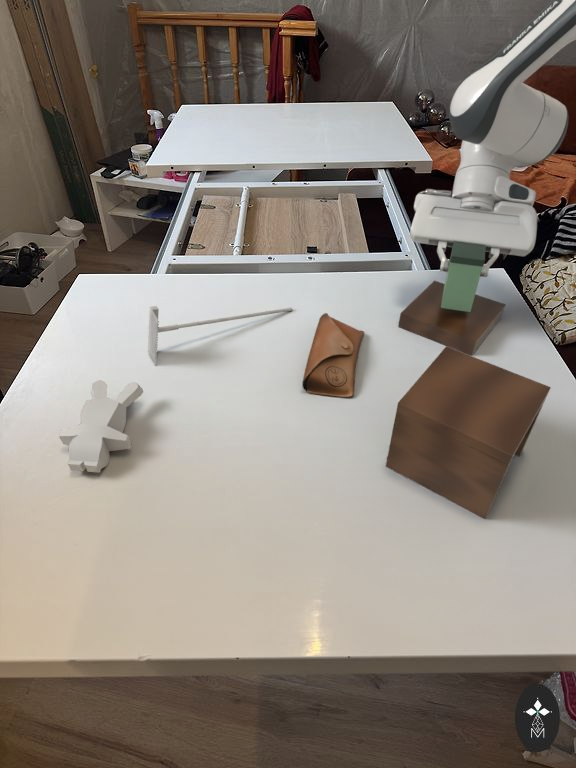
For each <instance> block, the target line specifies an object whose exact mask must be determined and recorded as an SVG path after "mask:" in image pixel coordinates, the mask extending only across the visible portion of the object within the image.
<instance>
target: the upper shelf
mask: <svg viewBox="0 0 576 768" xmlns="http://www.w3.org/2000/svg"><path fill="white" fill-rule="evenodd" d="M551 389H552V388H551V386H549V385H547V384H543V383H541V382H539V381H536V380H534V379H531V378H528V377H525V376H523V375H521V374H518V373H516V372H513V371H511V370H508V369H505V368H503V367H500V366H499V365H495V364H492V363H490V362H488V361H485V360H483V359H481V358H477V357H475V356H473V355H472V356H471V355H469V354H466V353H464V352H461V351H459V350H456V349H453V348H451V347H448V346H446V345H445V347H444V348H443V349H442V351H440V353H439V354H438V355H437V357H436V358H434V360H433V361H432V362H431V364H430V365H429V366H428V367H427V368H426V369H425V371H424V372H423V373H422V374H421V375H420V376H419V377H418V379H417V380H416V381H415V382H414V383H413V385H412V386H411V387H410V388H409V389H408V390H407V392H406V393H405V394H404V395H403V397H401V398H400V400H399V401H398V402H397V406H396V411H395V416H394V420H393V426H392V431H391V437H390V441H389V447H388V452H387V458H386V463H385V468H388V469H390V470H391V471H394V472H395V473H397V474H399V475H401V476H403V477H405V478H406V479H409V480H410V481H412V482H414V483H416V484H418V485H419V486H422V487H423V488H425V489H428V490H429V491H431V492H433V493H434V494H437V495H438V496H441V497H442V498H444V499H446V500H448V501H450V502H452V503H454V504H456V505H457V506H459V507H461V508H463V509H465V510H466V511H469V512H471V513H473V514H474V515H477V516H479V517H480V518H482V519H484V520H485V519H486V518H487V517H488V515H489V513H490V511H491V509H492V507H493V504H494V502H495V499H496V497H497V495H498V492H499V490H500V488H501V485H502V483H503V481H504V478H505V476H506V474H507V472H508V469H509V467H510V465H511V462H512V460H513V459H514V456H516V457H521V455H522V453H523V451H524V449H525V446H526V444H527V442H528V440H529V437H530V435H531V433H532V431H533V428H534V426H535V425H536V422H537V420H538V418H539V415H540V414H541V411H542V408H543V406H544V404H545V402H546V400H547V397H548V395H549V393H550V390H551Z"/></svg>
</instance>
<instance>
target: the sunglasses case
mask: <svg viewBox="0 0 576 768" xmlns="http://www.w3.org/2000/svg"><path fill="white" fill-rule="evenodd" d="M364 335H365V330H359V329H357V328H355V327H353V326H351V325H349V324H346V323H344V322H342V321H340V320H338V319H336V318H334V317H331V316H330V315H329V314H328V313H327V312H325V313H323V314H322V315H320V317H319V320H318V323H317V326H316V329H315V332H314V336H313V339H312V344H311V347H310V350H309V354H308V357H307V362H306V365H305V368H304V373H303V379H302V382H301V383H302V388H303V390H304V391H305V392H306V393H308V394H310V395H311V394H312V395H317V396H321V397H330V398H345V399H346V398H352V397H354V394H355V384H356V383H355V382H356V381H355V380H356V379H355V378H356V370H357V363H358V358H359V352H360V348H361V343H362V341H363V338H364Z"/></svg>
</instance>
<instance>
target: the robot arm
mask: <svg viewBox="0 0 576 768" xmlns="http://www.w3.org/2000/svg"><path fill="white" fill-rule="evenodd" d="M574 41H576V0H551V1H550V2H549V3H548V4H547V5H546V6H545V7H543V9H542V10H540V12H539V13H537V14H536V15H535V16H534V17H533V18H532V19H531V20H530V21H529V22H528V23H527V24H525V26H524V27H522V28H521V30H520V31H519V32H517V33H516V34H515V35H514V36H513V37H512V38H511V39H510V40H509V41H508V42H507V43H506V44H505V45H504V46H503V47H501V48H500V50H499V51H497V53H495V54H494V55H493V56H491V58H489V59H488V60H487V61H486V62H484V63H483V64H481V65H480V66H478V67H477V68H475V69H474V70H473V71H472V72H470V73H469V74H468V75H466V76H465V78H464V79H462V80H461V82H460V83H459V85H458V86H457V87H456V88H455V90H454V91H453V94H452V97H451V98H450V102H449V104H448V116H449V117H448V119H449V123H450V126H451V130H452V132H453V134H454V136H455V138H456V139H458V140H460V141H461V146H460V151H459V154H460V162H459V165H458V168H456V169H457V170H456V172H455V177H454V181H453V186H452V190H445V189H433V188H426V189H425V190H422V191H420V192H417V194H416V195H415V198H414V201H413V210H414V216H413V219H412V222H411V227H410V230H409V231H410V232H409V237H410V239H411V241H412V242H413V243H416V244H425V245H432V246H437V248H436V253H437V256H438V258H439V261H440V266H439V267H440V268H439V272H445V273H447V272H448V270H449V265H450V258H447V256H446V254H445V252H446V250H447V248H452V246H453V242H454V241H455V242H463V243H471V244H479V245H486V249H485V253H486V252H487V253H488V261H487V262H485V263H484V266H483V267H482V271H481V274H480V277H483V278H488V276H489V272H490V267H492V266H493V264H494V263H495V262H496V261H497V259H498V258H499V256H500V255H501V254H502V255H510V256H517V257H526V256H527V255H529V254H530V253H531V252H532V251H533V250H534V248H535V245H536V240H537V231H538V214H537V210H536V209H535V208H534V207H533V206H534V204H535V200H536V196H537V192H536V191H535V190H534V189H533V188H531V187H528V186H526V185H523V184H521V183H518V182H516V181H514V180H512V179H511V172H512V171H513V169H515V168H517V169H521V168H526V167H529V166H532V165H533V166H534V165H536V164H538V163H541V162H543V161H545V160H547V159H549V158H550V157H551V156H552V155H554V154H555V153H556V152H557V151H558V149H559V148H560V147H561V145H562V143H563V141H564V139H565V136H566V134H567V130H568V127H569V111H568V107H567V106H566V105H565V104H563V103H562V102H561V101H559V100H558V99H556V98H554V97H552V96H551V95H548V94H547V93H544V92H543V91H541V90H539V89H536V88H533V87H532V86H529V85H527V84H526V83H524V82H525V81H527V80H528V78H530V77H531V76H532V75H534V73H536V72H537V71H538V70H539V69H540V68H541V67H543V66H544V65H545V64H546V63H547V62H549V60H550V59H552V58H553V57H554V56H555V55H556V54H557V53H558V52H559V51H560V50H562V49H563V48H565V47H566V46H567V45H568V44H571V43H572V42H574Z"/></svg>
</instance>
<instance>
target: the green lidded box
mask: <svg viewBox="0 0 576 768" xmlns="http://www.w3.org/2000/svg"><path fill="white" fill-rule="evenodd" d="M485 249H486V245H479V244H471V243H463V242H455V241H454V242H453V246H452V247H451V253H450V258H449V259H450V265H449V270H448V272H446V276H445V281H444V284H445V285H444V291H443V297H442V303H441V308H446V309H453V310H459V311H466V312H471V308H472V305H473V301H474V297H475V294H476V293H477V289H478V285H479V282H480V278H481V276H480V274H481V271H482V267H483V266H484V264H485V263H486V252H485Z"/></svg>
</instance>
